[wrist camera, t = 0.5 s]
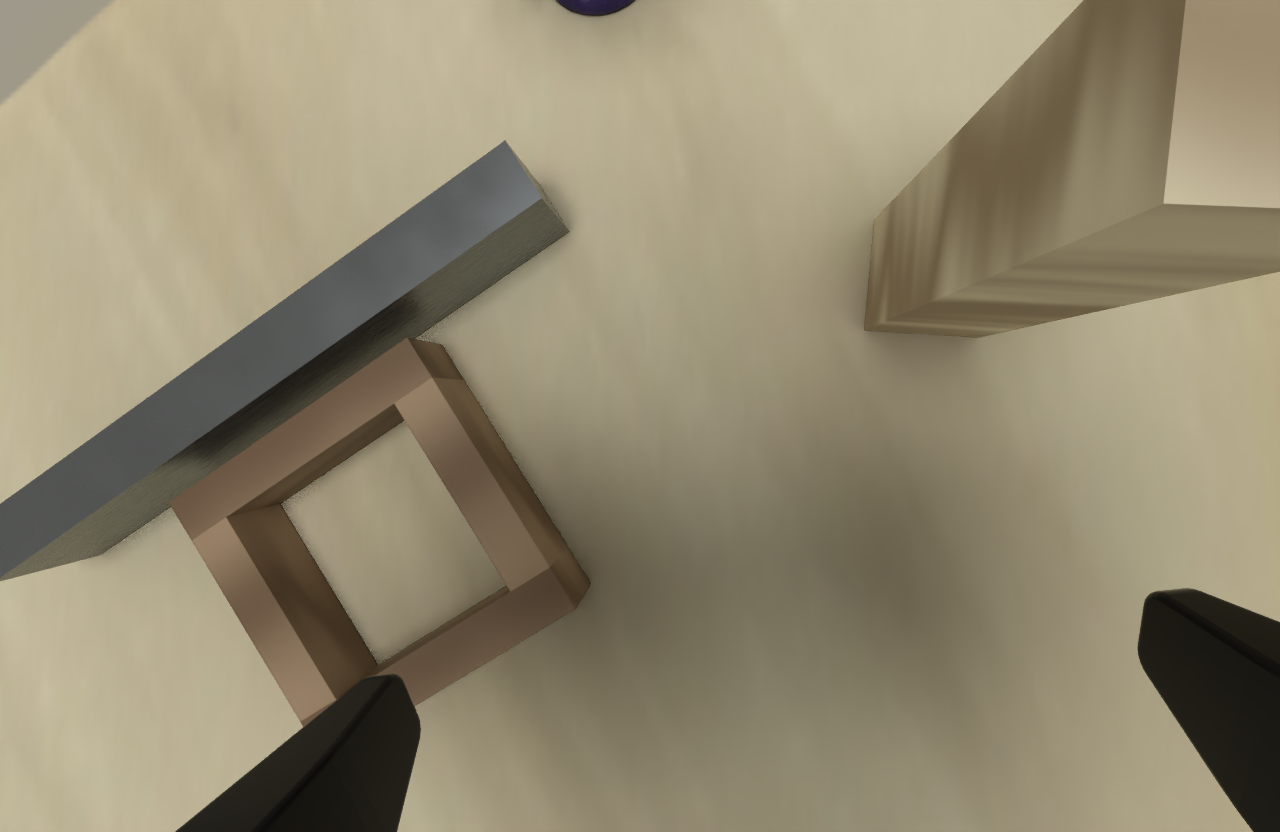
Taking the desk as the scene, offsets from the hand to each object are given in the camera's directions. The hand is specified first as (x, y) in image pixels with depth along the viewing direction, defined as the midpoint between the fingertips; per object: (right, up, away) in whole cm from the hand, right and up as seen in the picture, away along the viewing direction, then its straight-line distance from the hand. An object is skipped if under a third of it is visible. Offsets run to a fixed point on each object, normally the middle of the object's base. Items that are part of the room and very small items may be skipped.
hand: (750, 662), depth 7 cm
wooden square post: (+8, +7, +12) cm, 16 cm away
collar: (-10, -1, +14) cm, 18 cm away
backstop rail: (-14, +4, +15) cm, 20 cm away
